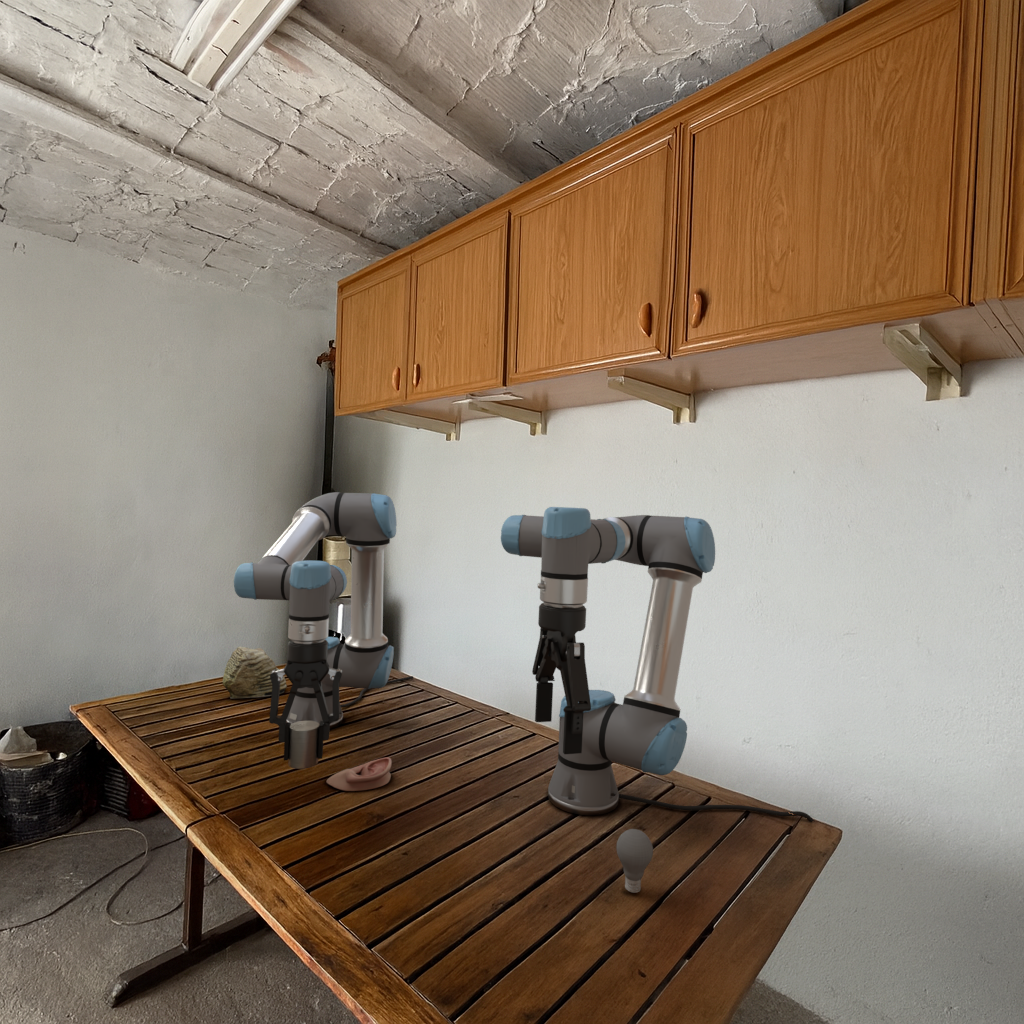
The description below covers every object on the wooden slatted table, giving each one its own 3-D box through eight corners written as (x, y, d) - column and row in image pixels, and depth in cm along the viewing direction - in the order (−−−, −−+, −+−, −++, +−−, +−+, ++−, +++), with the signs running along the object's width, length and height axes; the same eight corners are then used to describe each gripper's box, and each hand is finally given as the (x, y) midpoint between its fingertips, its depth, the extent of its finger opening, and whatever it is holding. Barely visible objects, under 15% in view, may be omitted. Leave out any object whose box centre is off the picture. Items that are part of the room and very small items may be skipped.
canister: (305, 771, 121) (306, 732, 121) (281, 765, 123) (283, 727, 123) (324, 760, 126) (325, 723, 126) (301, 755, 128) (302, 718, 128)
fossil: (218, 695, 195) (220, 647, 195) (278, 685, 208) (279, 640, 207) (228, 703, 189) (230, 653, 188) (289, 692, 201) (290, 645, 201)
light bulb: (610, 879, 108) (613, 822, 108) (644, 879, 109) (647, 822, 109) (619, 902, 102) (622, 840, 102) (655, 901, 103) (658, 840, 103)
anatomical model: (320, 769, 137) (344, 749, 149) (319, 787, 138) (343, 766, 149) (377, 777, 135) (397, 756, 146) (376, 795, 135) (397, 773, 146)
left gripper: (254, 644, 119) (249, 767, 119) (356, 643, 123) (352, 762, 123) (260, 635, 126) (256, 751, 126) (357, 635, 130) (352, 747, 131)
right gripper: (518, 591, 112) (512, 711, 112) (568, 619, 88) (561, 770, 88) (558, 592, 114) (552, 709, 114) (618, 618, 90) (611, 766, 90)
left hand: (303, 756), depth 125 cm, fingers closed on canister, 6 cm apart
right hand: (556, 736), depth 101 cm, fingers open, 13 cm apart
